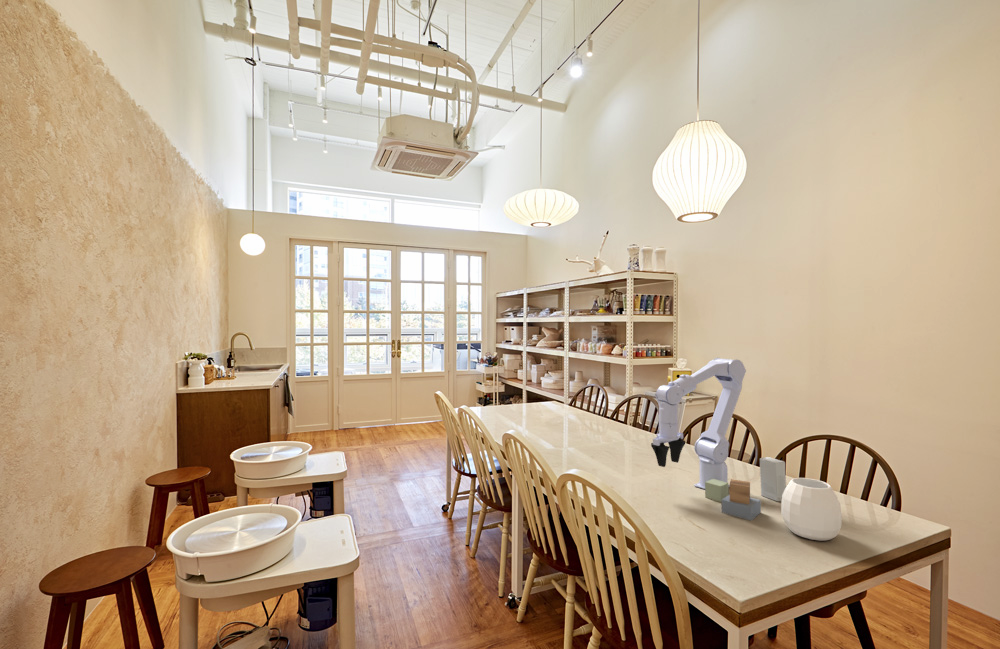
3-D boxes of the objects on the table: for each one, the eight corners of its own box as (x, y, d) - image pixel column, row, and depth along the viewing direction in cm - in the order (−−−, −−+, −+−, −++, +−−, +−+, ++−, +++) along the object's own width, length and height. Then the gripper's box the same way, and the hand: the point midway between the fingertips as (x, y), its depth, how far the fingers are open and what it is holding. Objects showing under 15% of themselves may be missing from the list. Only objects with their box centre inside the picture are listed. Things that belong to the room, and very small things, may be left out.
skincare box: (787, 500, 145) (786, 461, 145) (776, 502, 144) (776, 463, 144) (769, 493, 151) (769, 456, 151) (759, 495, 149) (759, 457, 149)
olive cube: (713, 494, 151) (712, 478, 151) (728, 498, 147) (728, 482, 147) (705, 497, 148) (705, 482, 148) (720, 502, 144) (720, 486, 144)
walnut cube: (731, 495, 139) (731, 479, 139) (750, 498, 136) (749, 481, 136) (729, 501, 135) (729, 483, 135) (749, 504, 132) (749, 486, 132)
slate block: (731, 506, 141) (731, 492, 141) (760, 513, 136) (760, 500, 136) (721, 513, 136) (721, 499, 136) (751, 521, 130) (750, 507, 130)
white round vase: (844, 551, 112) (844, 495, 112) (780, 538, 119) (780, 485, 119) (839, 530, 124) (839, 480, 124) (781, 519, 131) (781, 471, 131)
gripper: (669, 417, 159) (669, 457, 159) (644, 423, 150) (644, 465, 150) (688, 421, 154) (689, 462, 154) (664, 427, 145) (664, 470, 145)
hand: (668, 464), depth 152 cm, fingers open, 7 cm apart
